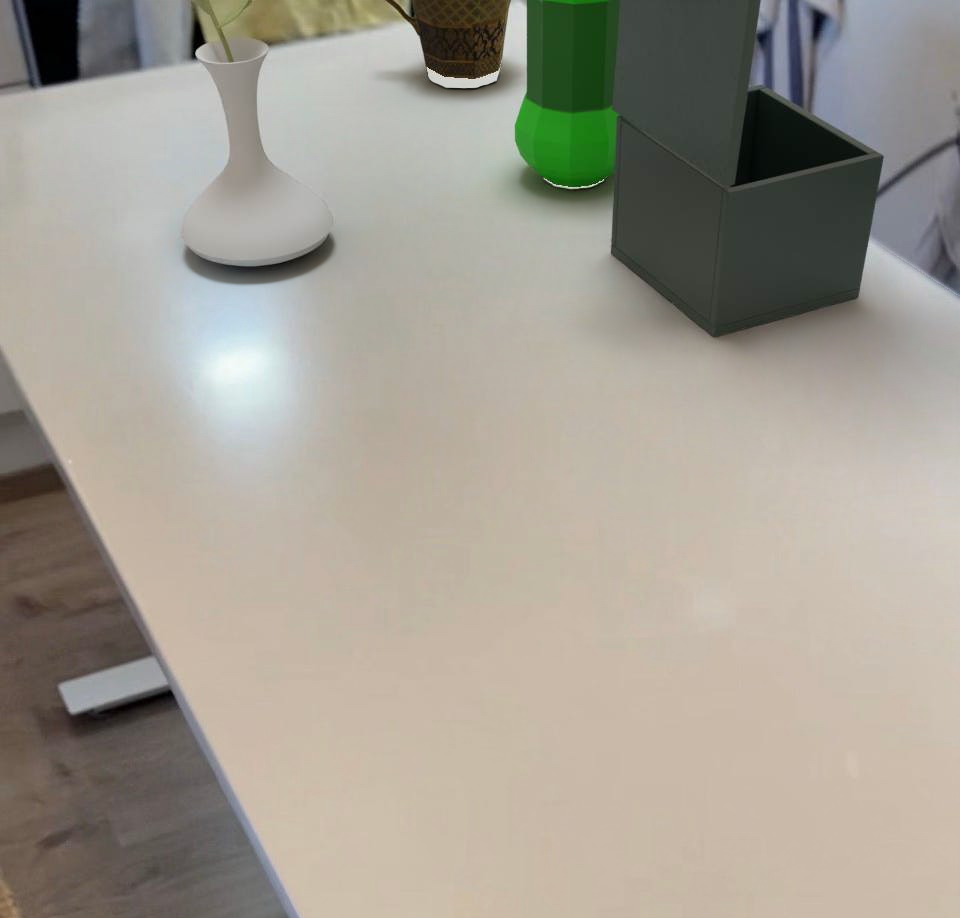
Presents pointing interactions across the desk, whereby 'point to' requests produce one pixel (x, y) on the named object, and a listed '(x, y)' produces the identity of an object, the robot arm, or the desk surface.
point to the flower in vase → (249, 173)
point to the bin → (748, 218)
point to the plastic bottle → (570, 91)
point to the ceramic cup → (460, 35)
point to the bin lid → (687, 76)
